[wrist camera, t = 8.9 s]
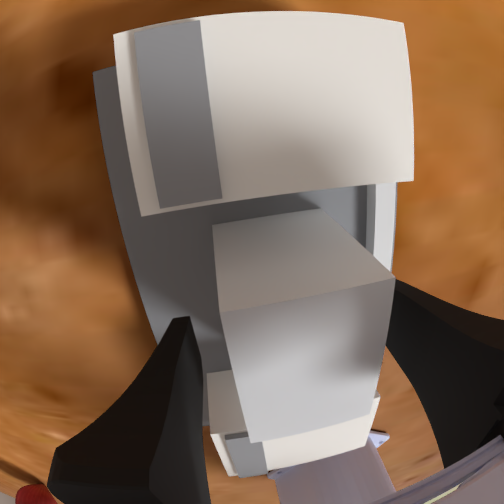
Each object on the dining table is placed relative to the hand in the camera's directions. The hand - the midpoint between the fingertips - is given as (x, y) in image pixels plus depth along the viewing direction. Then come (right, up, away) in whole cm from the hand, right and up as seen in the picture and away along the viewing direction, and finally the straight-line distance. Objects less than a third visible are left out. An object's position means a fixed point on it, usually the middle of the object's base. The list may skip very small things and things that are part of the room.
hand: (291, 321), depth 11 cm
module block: (0, +1, +3) cm, 3 cm away
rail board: (-1, +2, +4) cm, 4 cm away
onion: (-27, -26, +12) cm, 40 cm away
